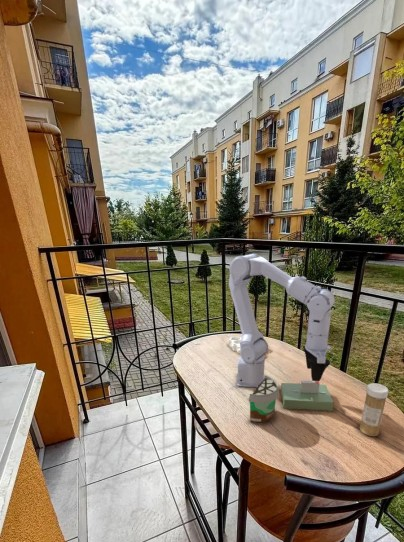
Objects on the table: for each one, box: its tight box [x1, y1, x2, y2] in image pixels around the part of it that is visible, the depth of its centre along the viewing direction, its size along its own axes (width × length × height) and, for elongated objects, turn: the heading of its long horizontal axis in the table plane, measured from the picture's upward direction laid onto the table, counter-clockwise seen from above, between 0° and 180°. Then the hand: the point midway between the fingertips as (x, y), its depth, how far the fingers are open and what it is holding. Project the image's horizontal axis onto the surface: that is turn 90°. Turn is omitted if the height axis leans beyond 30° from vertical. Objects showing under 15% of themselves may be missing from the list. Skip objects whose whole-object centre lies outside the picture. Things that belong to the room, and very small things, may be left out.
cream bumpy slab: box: [228, 336, 242, 355], centre depth 127 cm, size 3×18×15 cm
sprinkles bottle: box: [359, 382, 389, 437], centre depth 72 cm, size 5×5×14 cm
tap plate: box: [280, 382, 335, 412], centre depth 88 cm, size 14×10×3 cm
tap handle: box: [300, 380, 321, 394], centre depth 87 cm, size 5×1×4 cm, turn 81°
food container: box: [248, 375, 280, 425], centre depth 80 cm, size 12×6×10 cm, turn 148°
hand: (313, 374), depth 86 cm, fingers open, 7 cm apart
